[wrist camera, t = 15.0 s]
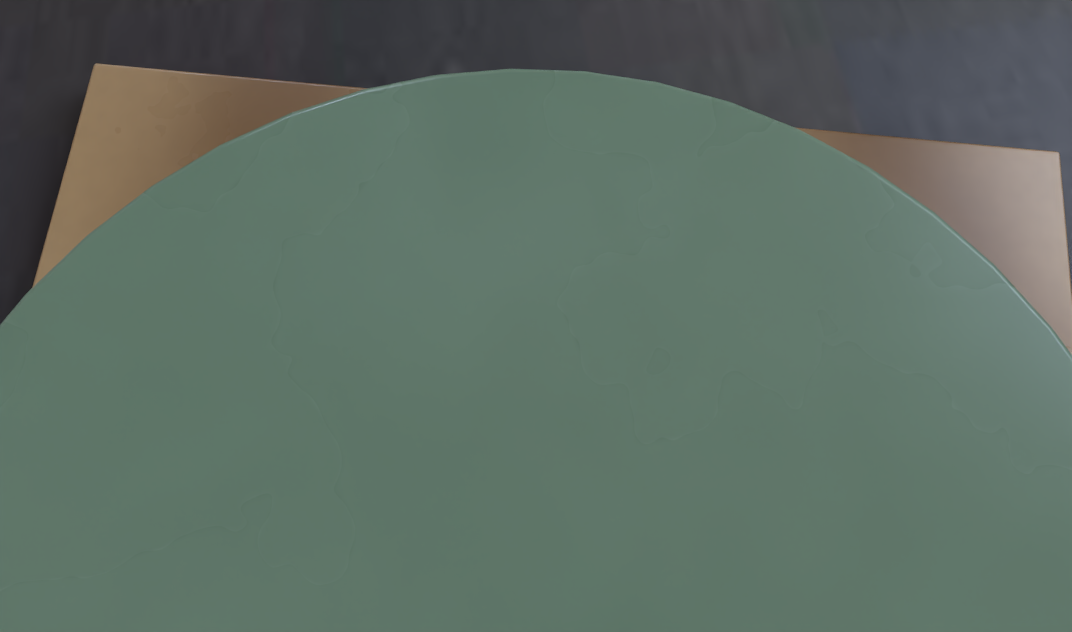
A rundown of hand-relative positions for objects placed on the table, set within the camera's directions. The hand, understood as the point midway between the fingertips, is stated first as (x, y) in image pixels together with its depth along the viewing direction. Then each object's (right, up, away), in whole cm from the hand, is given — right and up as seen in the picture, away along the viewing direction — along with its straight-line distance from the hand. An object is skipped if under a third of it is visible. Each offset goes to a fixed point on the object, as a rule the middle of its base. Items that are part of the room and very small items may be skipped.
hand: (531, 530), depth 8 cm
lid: (0, +1, -4) cm, 4 cm away
